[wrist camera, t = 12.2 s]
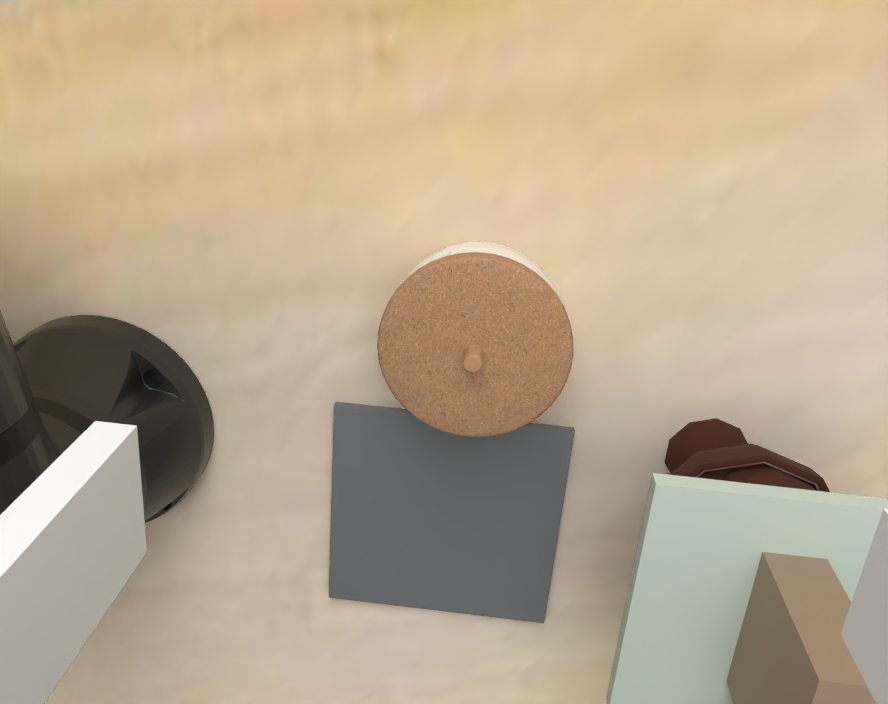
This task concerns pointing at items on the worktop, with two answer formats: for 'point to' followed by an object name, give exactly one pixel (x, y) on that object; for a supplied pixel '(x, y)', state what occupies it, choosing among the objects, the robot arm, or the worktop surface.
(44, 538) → the robot arm
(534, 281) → the lidded jar
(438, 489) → the square tray
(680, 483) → the board
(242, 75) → the worktop surface
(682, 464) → the ice cream bowl
